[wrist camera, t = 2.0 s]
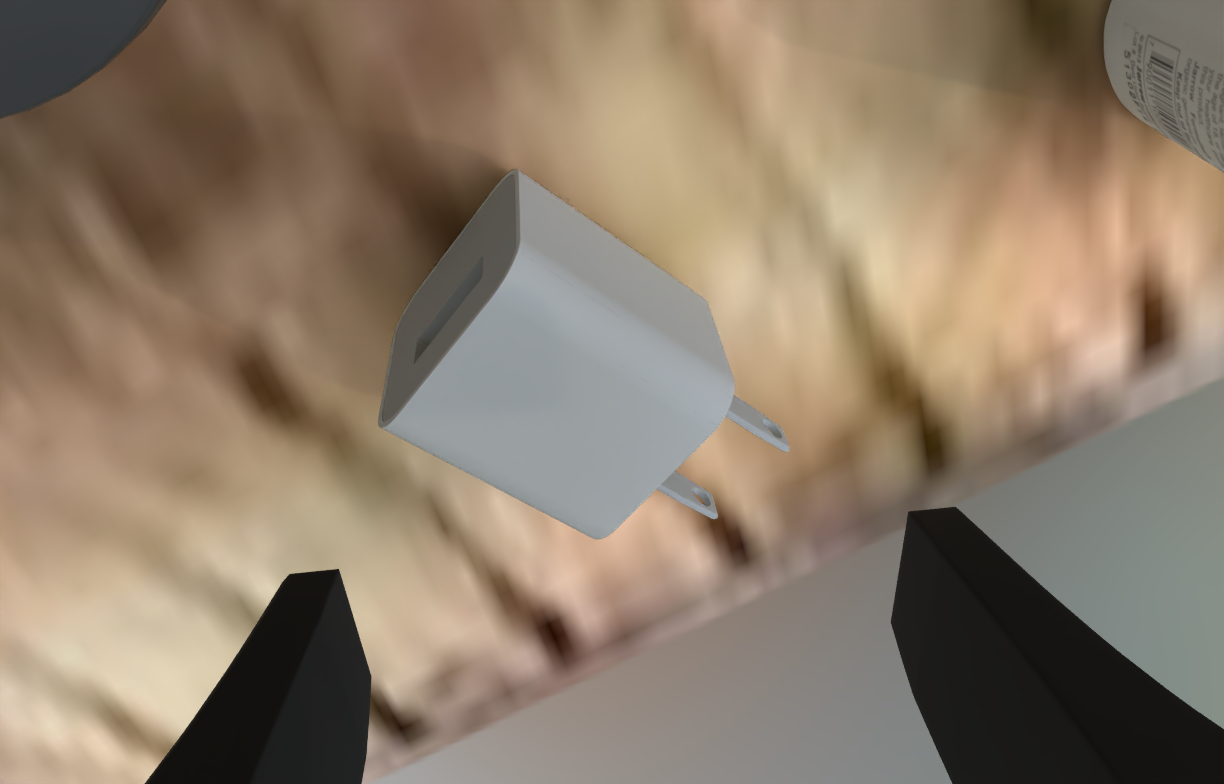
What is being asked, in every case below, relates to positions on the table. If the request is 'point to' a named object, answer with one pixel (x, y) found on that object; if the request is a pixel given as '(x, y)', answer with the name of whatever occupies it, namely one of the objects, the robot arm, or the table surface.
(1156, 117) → the pill bottle
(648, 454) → the usb wall charger
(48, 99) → the coffee cup
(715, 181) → the table surface
